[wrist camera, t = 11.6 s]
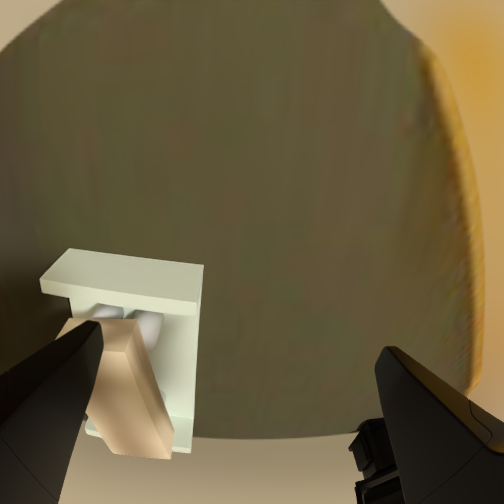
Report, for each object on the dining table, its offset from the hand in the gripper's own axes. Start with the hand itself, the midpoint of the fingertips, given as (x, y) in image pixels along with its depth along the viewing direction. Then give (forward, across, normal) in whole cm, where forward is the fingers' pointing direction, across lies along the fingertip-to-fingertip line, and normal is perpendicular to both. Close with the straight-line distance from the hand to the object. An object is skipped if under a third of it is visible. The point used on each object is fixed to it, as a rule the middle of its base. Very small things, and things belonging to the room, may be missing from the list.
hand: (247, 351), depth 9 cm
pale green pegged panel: (+12, +7, +12) cm, 18 cm away
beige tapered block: (+8, +7, +12) cm, 16 cm away
